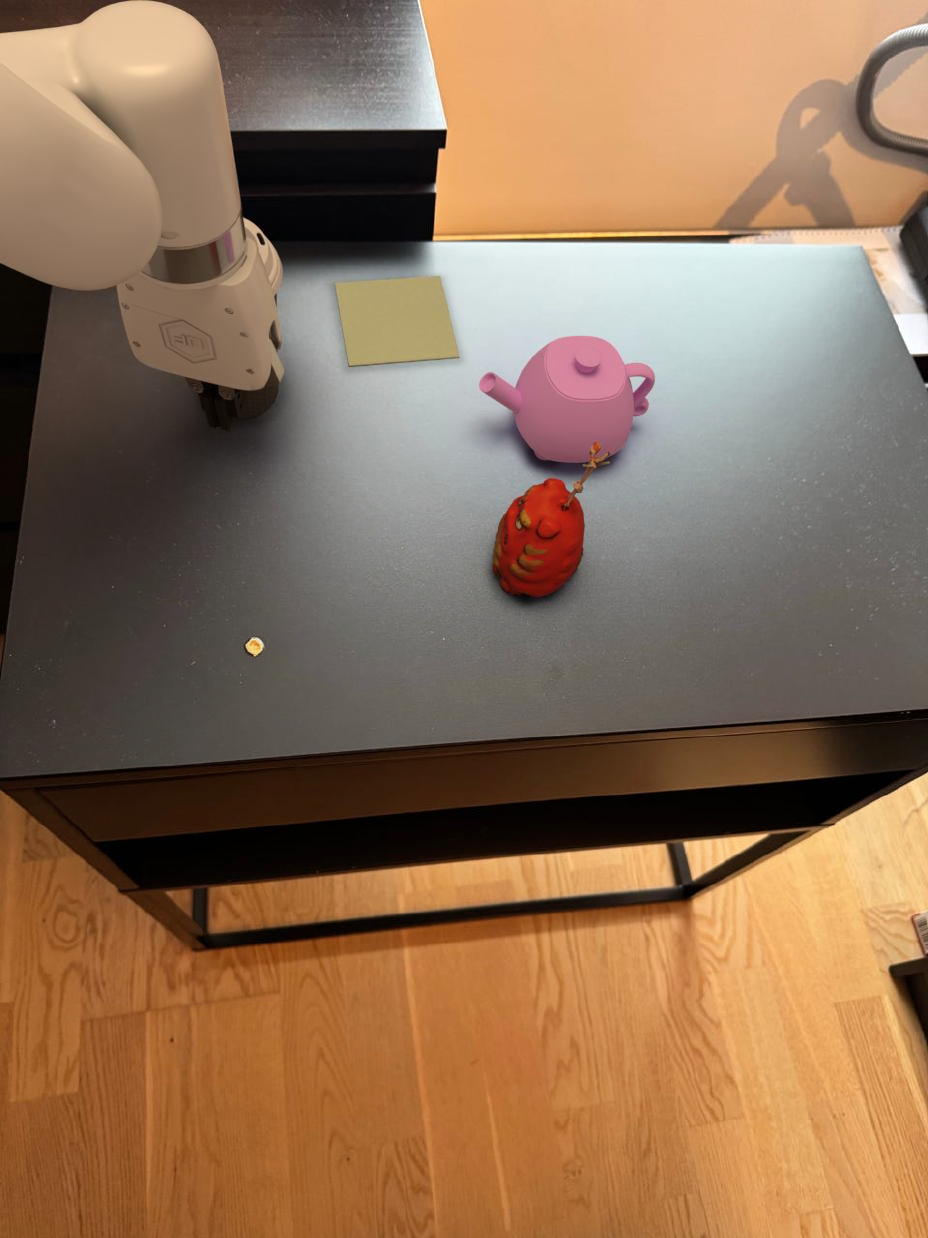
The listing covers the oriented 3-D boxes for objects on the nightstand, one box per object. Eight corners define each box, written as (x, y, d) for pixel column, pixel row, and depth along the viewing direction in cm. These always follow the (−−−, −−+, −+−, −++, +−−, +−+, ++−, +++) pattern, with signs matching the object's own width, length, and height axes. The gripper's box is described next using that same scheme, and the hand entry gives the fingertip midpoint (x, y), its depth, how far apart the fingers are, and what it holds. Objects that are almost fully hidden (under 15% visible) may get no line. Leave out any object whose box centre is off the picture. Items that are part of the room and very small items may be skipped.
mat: (348, 366, 80) (348, 365, 80) (334, 283, 85) (334, 282, 84) (459, 357, 82) (459, 356, 82) (440, 276, 86) (440, 275, 86)
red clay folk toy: (492, 520, 75) (518, 401, 61) (576, 528, 75) (620, 412, 62) (487, 602, 71) (514, 495, 58) (576, 610, 72) (622, 506, 58)
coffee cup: (292, 436, 76) (275, 302, 63) (176, 431, 76) (134, 295, 62) (298, 349, 81) (284, 206, 67) (189, 344, 80) (152, 198, 66)
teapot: (650, 475, 78) (683, 404, 70) (478, 482, 76) (492, 411, 68) (627, 380, 83) (656, 303, 74) (464, 385, 81) (475, 307, 72)
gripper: (44, 242, 55) (119, 430, 72) (279, 299, 55) (300, 474, 72) (94, 164, 59) (154, 360, 75) (316, 217, 59) (328, 402, 75)
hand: (225, 415), depth 73 cm, fingers closed
